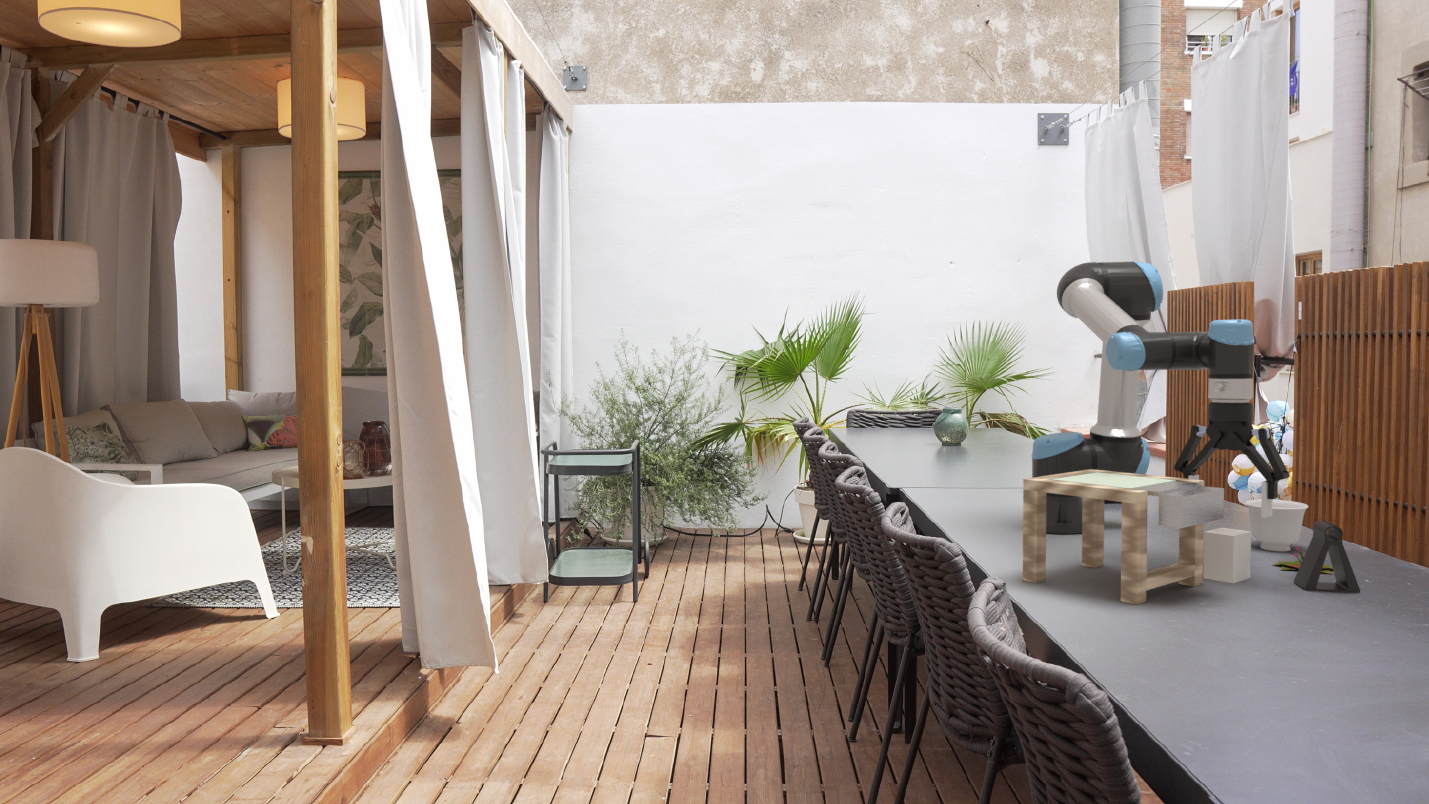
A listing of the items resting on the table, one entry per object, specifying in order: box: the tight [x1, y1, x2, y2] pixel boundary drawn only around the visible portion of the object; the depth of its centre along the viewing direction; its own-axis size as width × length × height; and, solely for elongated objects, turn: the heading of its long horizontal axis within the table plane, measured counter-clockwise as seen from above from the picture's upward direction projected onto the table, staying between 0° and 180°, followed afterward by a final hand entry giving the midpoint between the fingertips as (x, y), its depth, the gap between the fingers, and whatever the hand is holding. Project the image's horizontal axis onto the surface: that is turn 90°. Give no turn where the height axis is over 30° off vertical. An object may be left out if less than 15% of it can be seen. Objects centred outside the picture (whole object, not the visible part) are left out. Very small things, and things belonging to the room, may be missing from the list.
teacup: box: [1244, 498, 1309, 553], centre depth 214 cm, size 12×15×10 cm
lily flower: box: [1274, 546, 1334, 575], centre depth 194 cm, size 12×12×5 cm
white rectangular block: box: [1203, 527, 1252, 584], centre depth 187 cm, size 6×7×9 cm
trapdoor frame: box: [1022, 469, 1205, 606], centre depth 184 cm, size 23×23×20 cm
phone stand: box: [1293, 519, 1361, 594], centre depth 178 cm, size 9×6×12 cm, turn 76°
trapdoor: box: [1050, 472, 1225, 529], centre depth 180 cm, size 25×16×6 cm, turn 37°
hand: (1229, 512), depth 186 cm, fingers open, 13 cm apart
